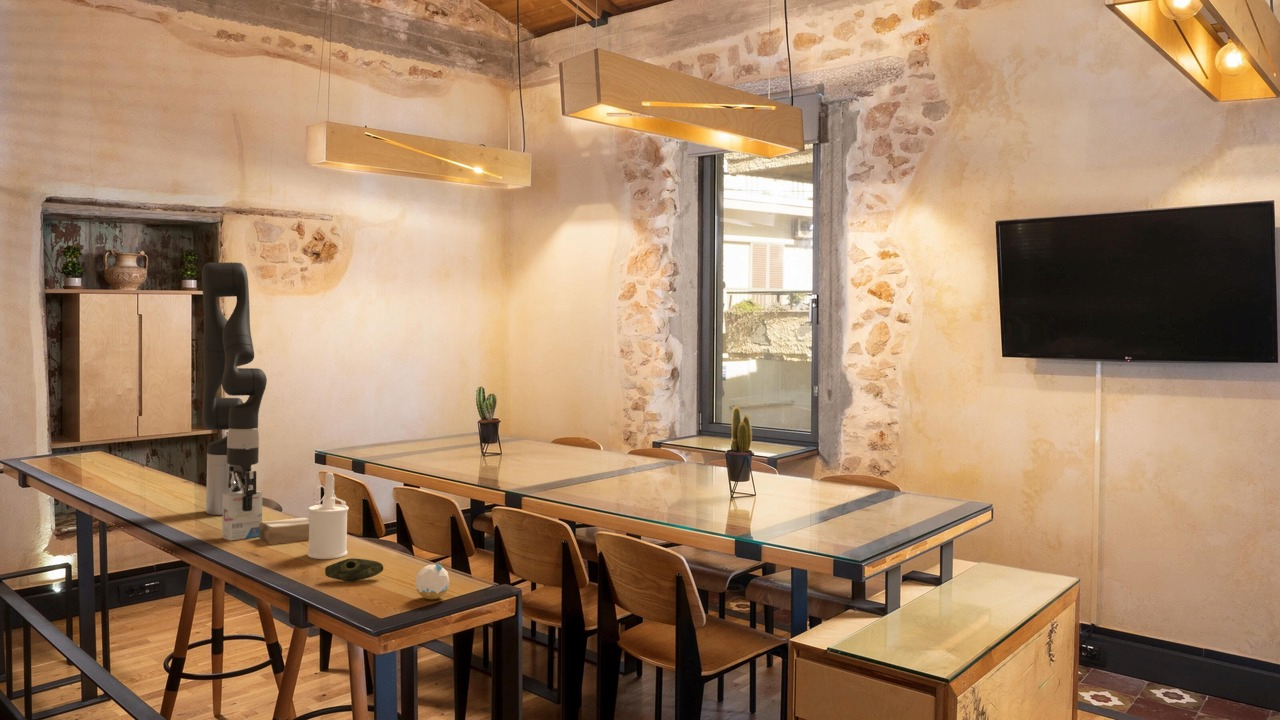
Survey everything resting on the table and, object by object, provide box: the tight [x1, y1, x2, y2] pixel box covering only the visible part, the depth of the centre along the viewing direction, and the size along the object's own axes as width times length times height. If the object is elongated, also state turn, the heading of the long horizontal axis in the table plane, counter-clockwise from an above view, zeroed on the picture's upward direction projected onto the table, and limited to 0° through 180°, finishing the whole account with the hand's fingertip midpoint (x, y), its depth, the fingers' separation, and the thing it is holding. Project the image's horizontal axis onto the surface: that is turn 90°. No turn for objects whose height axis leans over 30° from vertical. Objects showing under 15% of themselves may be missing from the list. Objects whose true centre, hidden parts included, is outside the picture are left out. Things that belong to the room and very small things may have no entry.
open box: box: [258, 516, 309, 545], centre depth 241 cm, size 8×12×4 cm, turn 131°
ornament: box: [415, 561, 451, 601], centre depth 193 cm, size 7×7×8 cm
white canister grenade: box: [307, 471, 350, 560], centre depth 227 cm, size 10×9×20 cm
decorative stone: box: [324, 558, 384, 583], centre depth 205 cm, size 11×8×5 cm
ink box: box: [221, 489, 263, 542], centre depth 241 cm, size 9×5×12 cm, turn 135°
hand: (241, 508), depth 241 cm, fingers open, 8 cm apart
